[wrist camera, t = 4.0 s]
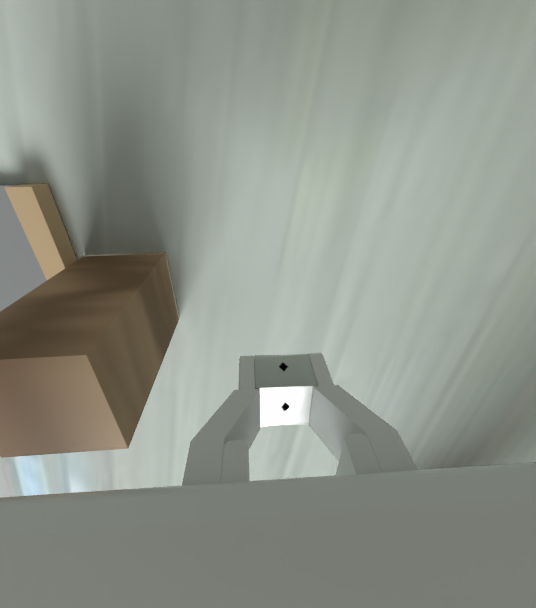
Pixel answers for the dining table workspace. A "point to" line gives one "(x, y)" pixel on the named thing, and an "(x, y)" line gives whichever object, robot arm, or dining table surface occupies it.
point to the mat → (30, 240)
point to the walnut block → (84, 354)
